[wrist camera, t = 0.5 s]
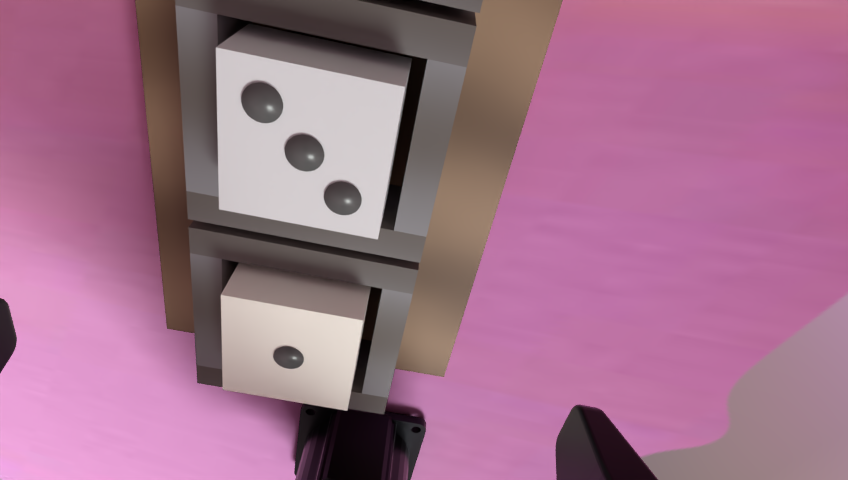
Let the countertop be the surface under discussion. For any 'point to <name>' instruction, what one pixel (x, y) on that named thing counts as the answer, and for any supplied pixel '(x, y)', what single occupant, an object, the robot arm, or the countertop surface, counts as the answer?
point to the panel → (409, 184)
